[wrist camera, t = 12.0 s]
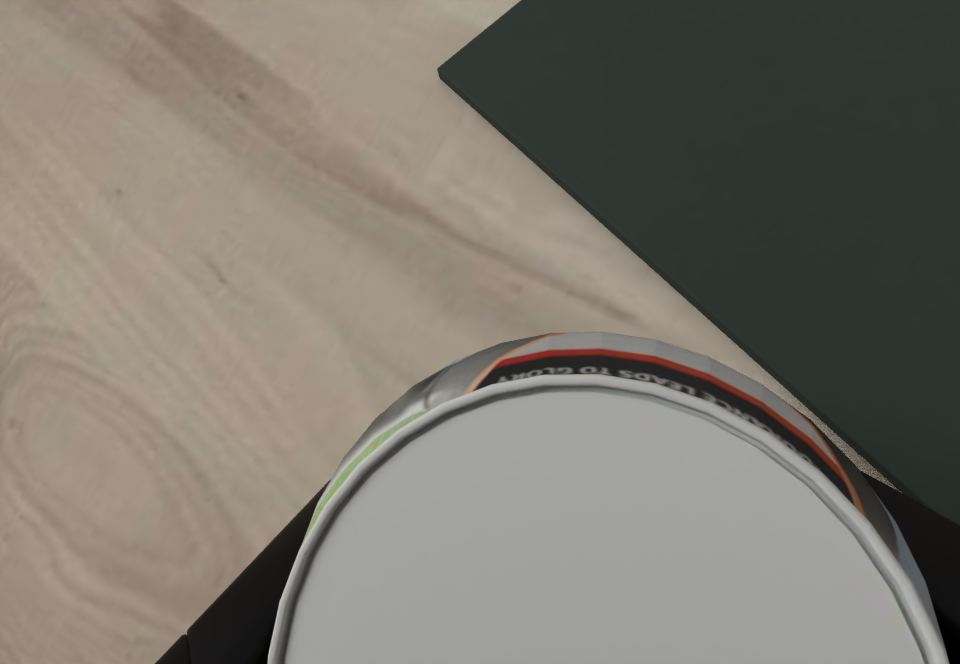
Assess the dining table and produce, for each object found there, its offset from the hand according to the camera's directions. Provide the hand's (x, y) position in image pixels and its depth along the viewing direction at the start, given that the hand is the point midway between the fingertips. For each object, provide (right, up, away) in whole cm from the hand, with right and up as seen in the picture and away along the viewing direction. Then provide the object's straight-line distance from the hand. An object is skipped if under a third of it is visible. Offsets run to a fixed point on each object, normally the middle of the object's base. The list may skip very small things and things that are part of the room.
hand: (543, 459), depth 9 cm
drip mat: (+10, +9, +9) cm, 16 cm away
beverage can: (+2, -3, +6) cm, 7 cm away
